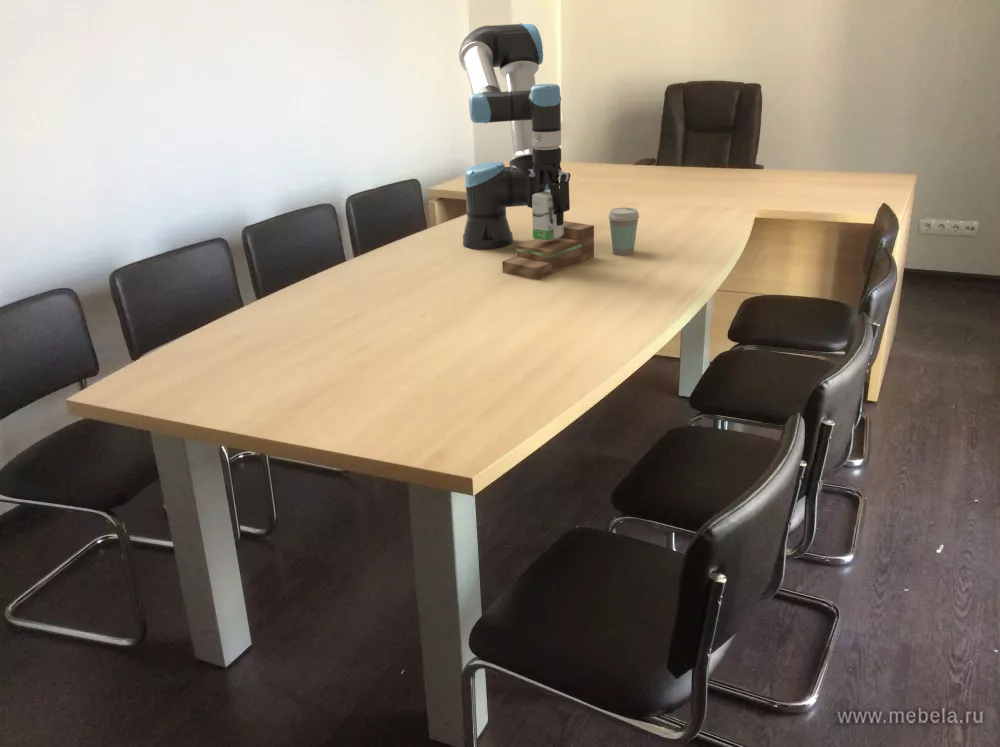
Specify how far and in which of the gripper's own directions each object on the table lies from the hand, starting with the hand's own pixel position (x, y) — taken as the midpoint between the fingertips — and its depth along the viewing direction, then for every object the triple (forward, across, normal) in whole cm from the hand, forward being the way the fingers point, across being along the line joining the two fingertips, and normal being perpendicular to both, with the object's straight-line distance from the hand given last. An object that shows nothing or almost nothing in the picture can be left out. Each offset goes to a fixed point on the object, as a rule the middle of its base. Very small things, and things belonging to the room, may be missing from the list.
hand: (548, 235), depth 227 cm
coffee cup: (+8, +10, +21) cm, 25 cm away
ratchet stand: (+8, 0, 0) cm, 8 cm away
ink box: (0, 0, 0) cm, 0 cm away
